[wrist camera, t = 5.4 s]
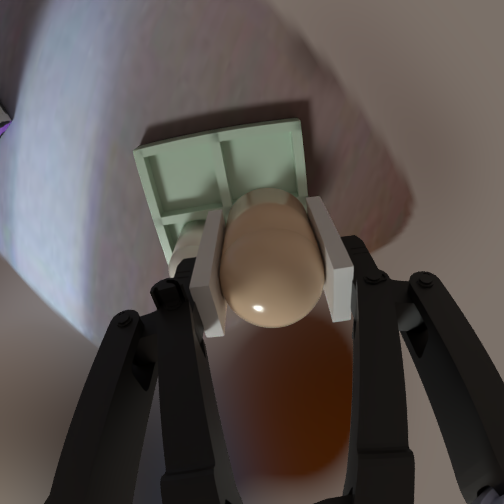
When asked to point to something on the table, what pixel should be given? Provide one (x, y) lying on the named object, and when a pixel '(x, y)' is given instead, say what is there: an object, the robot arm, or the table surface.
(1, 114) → the candy box
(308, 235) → the brown egg
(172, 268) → the cream egg
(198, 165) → the egg tray
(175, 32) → the table surface
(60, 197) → the table surface
